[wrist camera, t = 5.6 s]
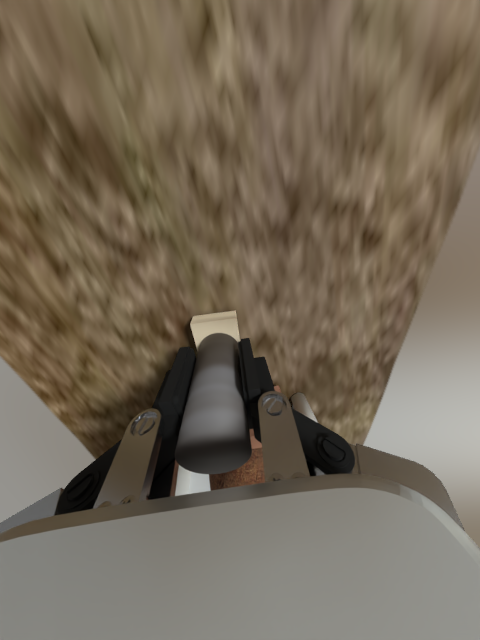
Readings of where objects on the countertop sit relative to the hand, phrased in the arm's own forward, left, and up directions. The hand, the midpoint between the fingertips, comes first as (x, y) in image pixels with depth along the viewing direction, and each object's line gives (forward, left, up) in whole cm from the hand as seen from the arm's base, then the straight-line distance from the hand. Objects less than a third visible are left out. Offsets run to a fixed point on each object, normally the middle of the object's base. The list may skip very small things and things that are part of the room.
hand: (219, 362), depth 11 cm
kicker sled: (-2, -2, -2) cm, 3 cm away
